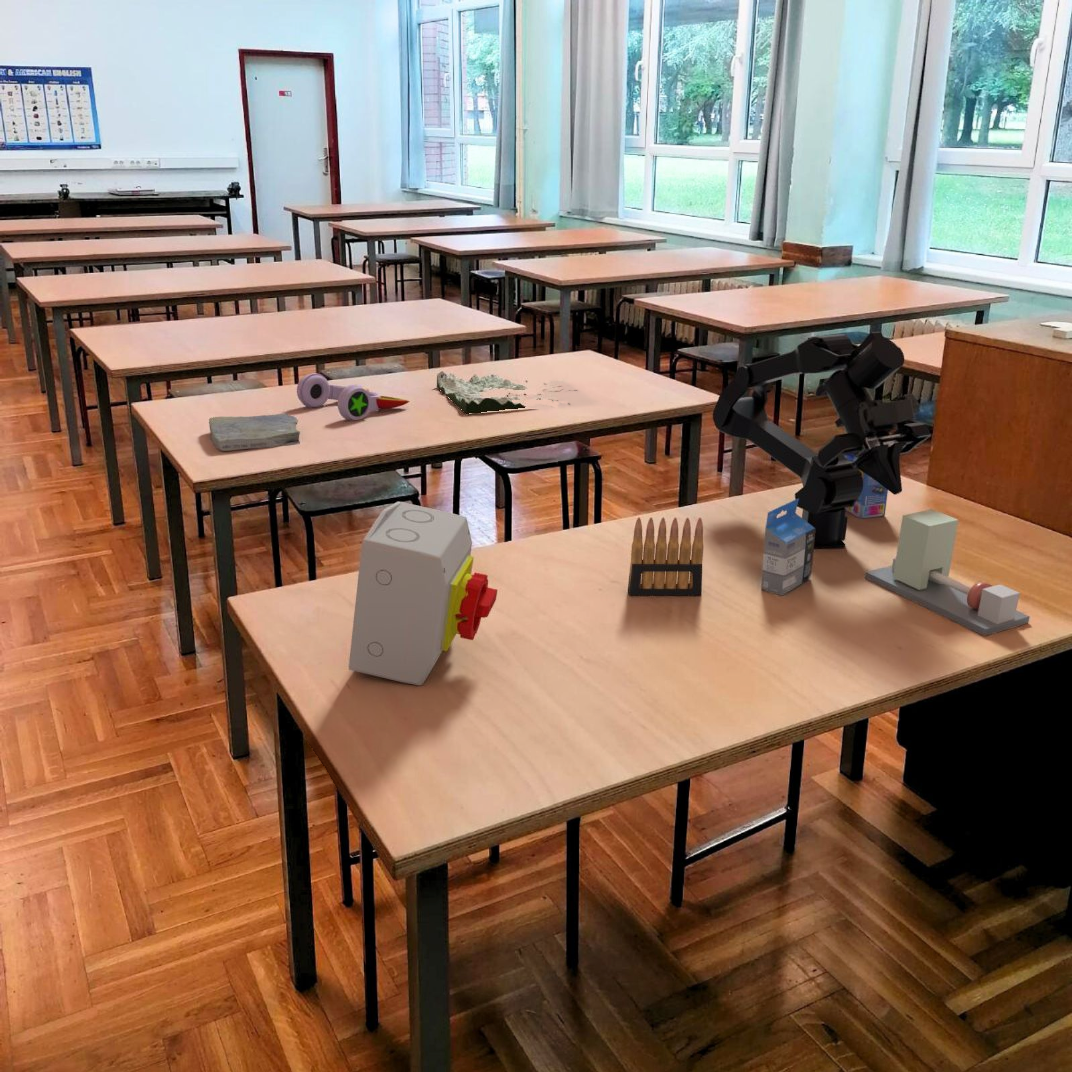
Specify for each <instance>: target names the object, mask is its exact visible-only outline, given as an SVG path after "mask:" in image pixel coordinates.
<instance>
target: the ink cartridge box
mask: <svg viewBox="0 0 1072 1072" xmlns="http://www.w3.org/2000/svg"><path fill="white" fill-rule="evenodd" d="M843 456H844V457H845V458H847V459H848V460H849V461H851V462H855V461H856V459H855V457H854V456H855V455H854V453H853V454H847V455H843ZM860 471H861V470H860ZM861 473H862V478H863V490H862V493H861V494H860V496H859V497H858V498H857V500H856V502H855V504H854V506H853V507H847V508H845V509H846V512H848V513H849V514H852V515H853V516H855V517H857V518H858V519H867V518H875V517H877V518H879V517H884V516H886V510H887V501H888V493H889V490H887V489H886V488H885V487H883V486H882V485H881V484H879V483H878V482H877V481H875V480H874V479H873V478H871V477H870V476H868V475H867V474H865V473H864V472H862V471H861Z"/></svg>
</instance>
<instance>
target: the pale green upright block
mask: <svg viewBox="0 0 1072 1072" xmlns="http://www.w3.org/2000/svg"><path fill="white" fill-rule="evenodd" d="M958 525H959V519H957V518H955V517H953V516H950V515H947V514H945V513H942V512H939V511H936V510H934V509H926V510H921V511H917V512H913V513H912V512H911V513H908V514H902V517H901V524H900V530H899V531H900V532H899V537H898V544H897V550H896V556H895V557H896V561H895V568H894V574H893V578H895V579H897V580H899V581H901V582H903V583H905V584H908V585H910V586H912V587H914V588H916V589H918V590H920V589H924V588H927V583H928V579H929V580H931V581H934V582H936V583H938V584H943V583H940V582H938V581H936V580H934V579H932V578H929V571H930V570H934V571H936V572H938V573H940V574H943V575H945V576H947V577H949V575H950V570H951V564H952V559H953V554H954V548H955V542H956V536H957V530H958Z"/></svg>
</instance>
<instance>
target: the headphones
mask: <svg viewBox="0 0 1072 1072" xmlns="http://www.w3.org/2000/svg"><path fill="white" fill-rule="evenodd" d="M296 396H297V398H298V400H299V402H301V404H302V405H303V406H305V407H306V408H309V409H313V407H314V408H320V407H322V406H323V405H325V404H326V403H327V401H328V400H334V401H337V409H338V412H339V414H340V415H341V417H342V418H343V419H345V420H347V421H351V422H352V420H353V421H360V420H362V419H364V418H366V416H368V415H369V413H370V412H379V410H382V409H383V410H387V409H394V408H395V409H396V408H398V407H402V406H404V405H406V404H408V403H410V400H407V399H405V398H404V399H403V398H399V397H394V396H387V395H381V394H380V393H377V392H373V391H370V390H369V389H368V388H366V387H363V386H362V385H358V384H353V383H352V384H349V385H348V386H343V385H335V384H329V381H328V380H327V378H326V377H325V376H324V375H322V374H320V373H316V372H315V373H314V372H312V373H309V374H306V375H304V376H303V377H301V378H300V380H299V381H298V383H297V385H296Z"/></svg>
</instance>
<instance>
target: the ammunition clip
mask: <svg viewBox="0 0 1072 1072" xmlns="http://www.w3.org/2000/svg"><path fill="white" fill-rule="evenodd" d="M642 524H643V523H642V519H641V518H640V516H639V517H637V519H636V522H635V525H634V530H633V537H632V538H633V539H632V544H631V553H630V567H629V573H628V574H629V576H628V584H627V593H628V596H629V597H658V598H659V597H665V598H666V597H668V598H669V597H670V598H671V597H677V598H678V597H688V598H689V597H691V598H692V597H694V598H695V597H702V596H703V595H702V593H703V592H702V591H703V590H702V589H703V588H702V587H703V557H704V524H703V519H702V518H701V517H698V519H697V522H696V525H695V529H694V536H693V537H694V538H693V542H691V541H692V535H691V534H692V533H691V532H692V529H691V527H692V526H691V521H690V517H686V519H685V521H684V524H683V527H682V533H681V534H682V535H681V541H680V545H679V522H678V519H677V517H674V518H673V519H672V522H671V525H670V532H669V539H668V544H667V522H666V519H665V518H664V517H663V516H662V518H661V520H660V522H659V524H658V531H657V537H656V538H657V539H656V543H655V523H654V519H653V518H652V517H649V520H647V525H646V530H645V531H646V532H645V537H644V540H645V541H644V543H643V525H642Z"/></svg>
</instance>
